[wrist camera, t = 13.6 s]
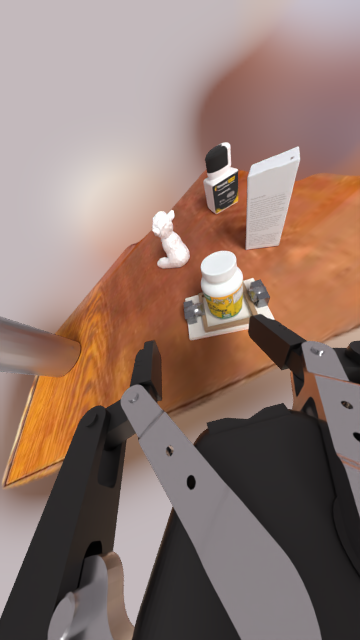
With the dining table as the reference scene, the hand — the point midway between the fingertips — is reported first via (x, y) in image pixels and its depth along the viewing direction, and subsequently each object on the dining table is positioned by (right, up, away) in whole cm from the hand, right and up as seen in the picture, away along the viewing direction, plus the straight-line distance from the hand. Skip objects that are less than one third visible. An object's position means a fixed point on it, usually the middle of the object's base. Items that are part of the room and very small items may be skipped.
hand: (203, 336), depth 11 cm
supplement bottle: (+6, +3, +12) cm, 14 cm away
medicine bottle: (+12, +38, +31) cm, 50 cm away
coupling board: (+6, +3, +13) cm, 14 cm away
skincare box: (+16, +18, +17) cm, 29 cm away
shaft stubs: (+6, +3, +13) cm, 14 cm away
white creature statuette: (-2, +18, +25) cm, 31 cm away
